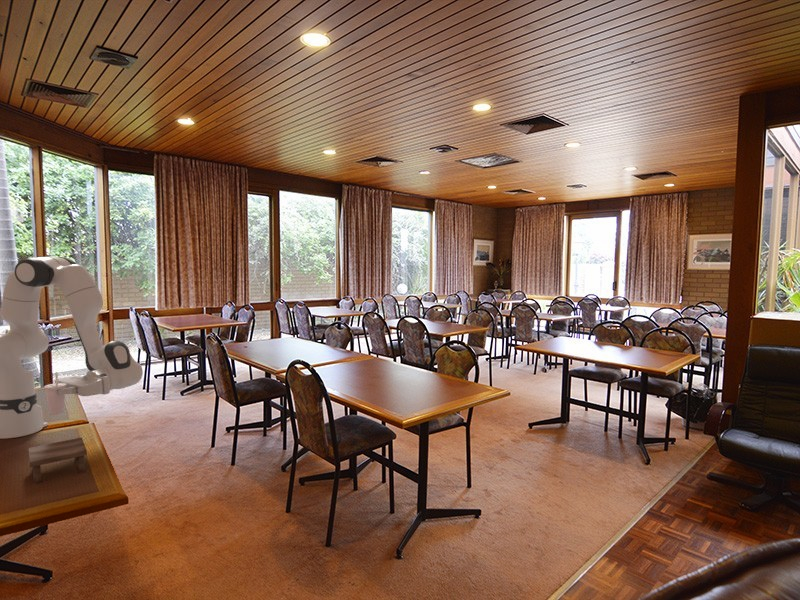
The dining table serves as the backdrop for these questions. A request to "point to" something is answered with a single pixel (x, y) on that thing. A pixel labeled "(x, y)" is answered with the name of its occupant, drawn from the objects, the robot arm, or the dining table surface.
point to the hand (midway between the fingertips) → (52, 391)
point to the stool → (57, 455)
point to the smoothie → (55, 397)
